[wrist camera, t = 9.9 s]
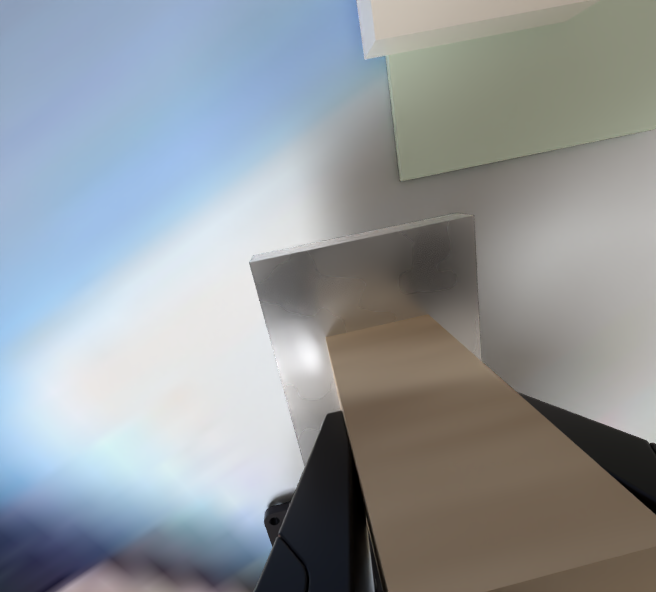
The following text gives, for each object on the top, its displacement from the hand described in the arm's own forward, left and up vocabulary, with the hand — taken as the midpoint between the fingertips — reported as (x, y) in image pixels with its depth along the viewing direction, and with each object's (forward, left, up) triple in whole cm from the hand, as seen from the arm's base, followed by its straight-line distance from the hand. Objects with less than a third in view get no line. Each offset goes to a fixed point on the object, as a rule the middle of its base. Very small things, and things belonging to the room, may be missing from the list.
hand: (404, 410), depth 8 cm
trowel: (0, 0, -3) cm, 3 cm away
